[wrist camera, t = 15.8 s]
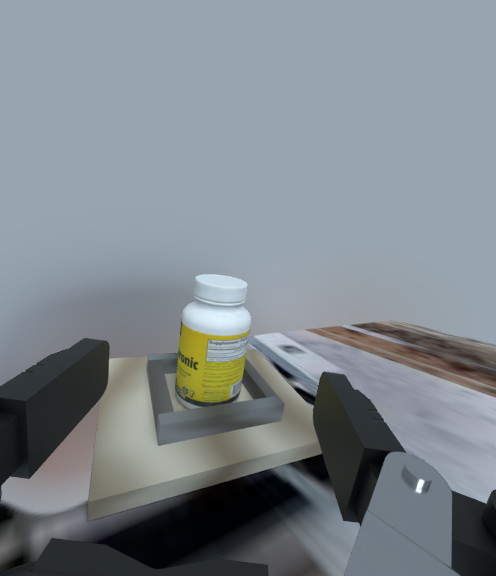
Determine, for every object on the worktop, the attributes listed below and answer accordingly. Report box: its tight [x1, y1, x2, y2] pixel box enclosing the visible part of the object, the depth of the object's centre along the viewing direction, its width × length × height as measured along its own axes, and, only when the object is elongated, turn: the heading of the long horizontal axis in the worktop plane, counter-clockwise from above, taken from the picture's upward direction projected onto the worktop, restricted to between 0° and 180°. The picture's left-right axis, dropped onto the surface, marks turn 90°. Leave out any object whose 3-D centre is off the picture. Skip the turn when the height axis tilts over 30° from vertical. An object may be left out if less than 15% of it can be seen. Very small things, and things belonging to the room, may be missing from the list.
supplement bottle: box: [175, 274, 251, 409], centre depth 21 cm, size 5×5×10 cm
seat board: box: [87, 350, 322, 521], centre depth 22 cm, size 16×14×3 cm
